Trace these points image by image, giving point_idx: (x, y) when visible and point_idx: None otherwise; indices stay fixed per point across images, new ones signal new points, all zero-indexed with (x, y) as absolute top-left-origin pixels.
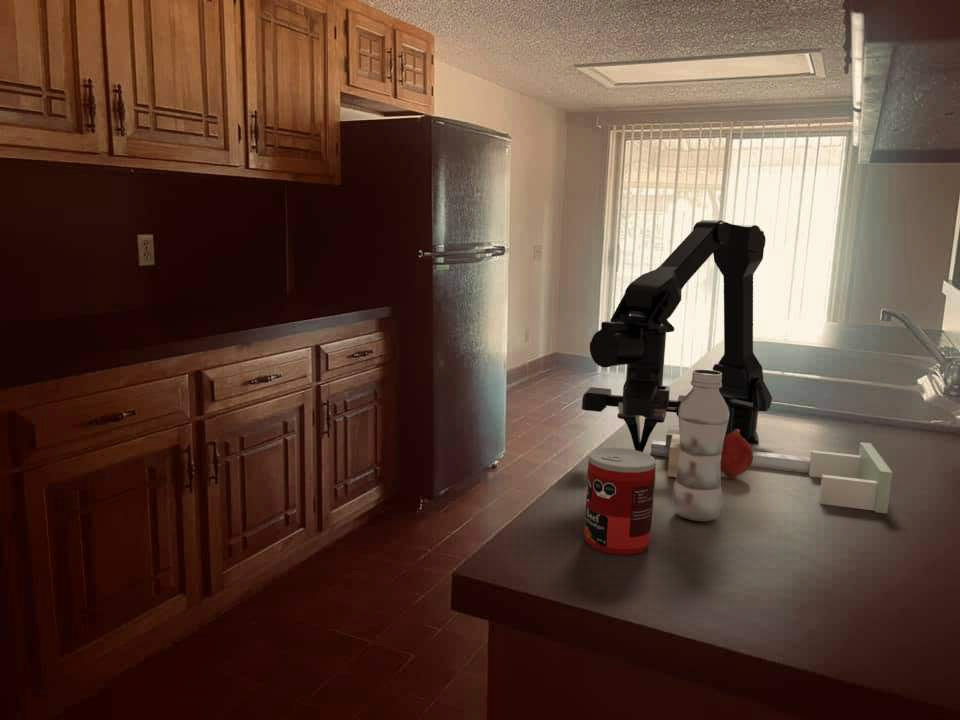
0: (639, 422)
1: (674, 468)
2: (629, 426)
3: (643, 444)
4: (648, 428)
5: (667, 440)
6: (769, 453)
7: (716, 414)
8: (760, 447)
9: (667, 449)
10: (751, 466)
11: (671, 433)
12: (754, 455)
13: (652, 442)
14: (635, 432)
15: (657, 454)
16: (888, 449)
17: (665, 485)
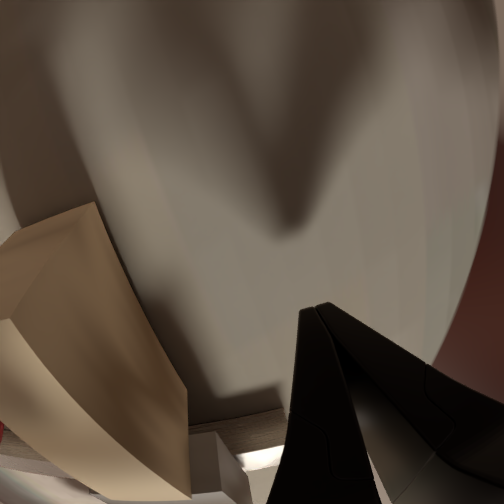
0: (391, 498)
1: (45, 232)
2: (495, 413)
3: (312, 360)
4: (318, 496)
5: (212, 466)
6: (9, 466)
7: None
8: None
9: (229, 442)
10: None
11: (207, 500)
12: (10, 455)
13: None
14: (421, 403)
15: (260, 416)
16: (10, 496)
17: (65, 77)
